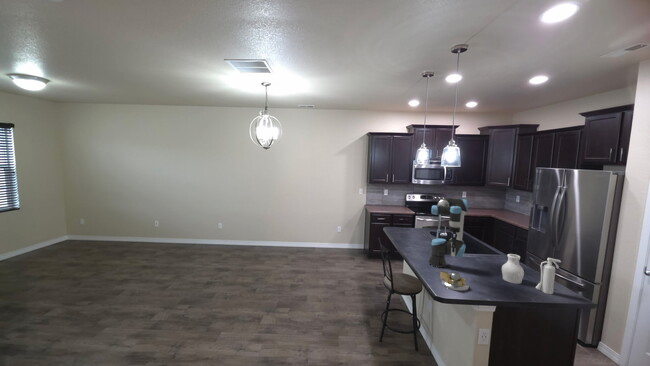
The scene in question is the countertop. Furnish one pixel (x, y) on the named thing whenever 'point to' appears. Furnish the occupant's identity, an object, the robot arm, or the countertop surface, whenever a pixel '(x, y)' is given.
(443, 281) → the flange
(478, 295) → the countertop surface
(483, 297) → the countertop surface
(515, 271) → the vase
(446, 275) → the gold crown ring
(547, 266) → the fire extinguisher
